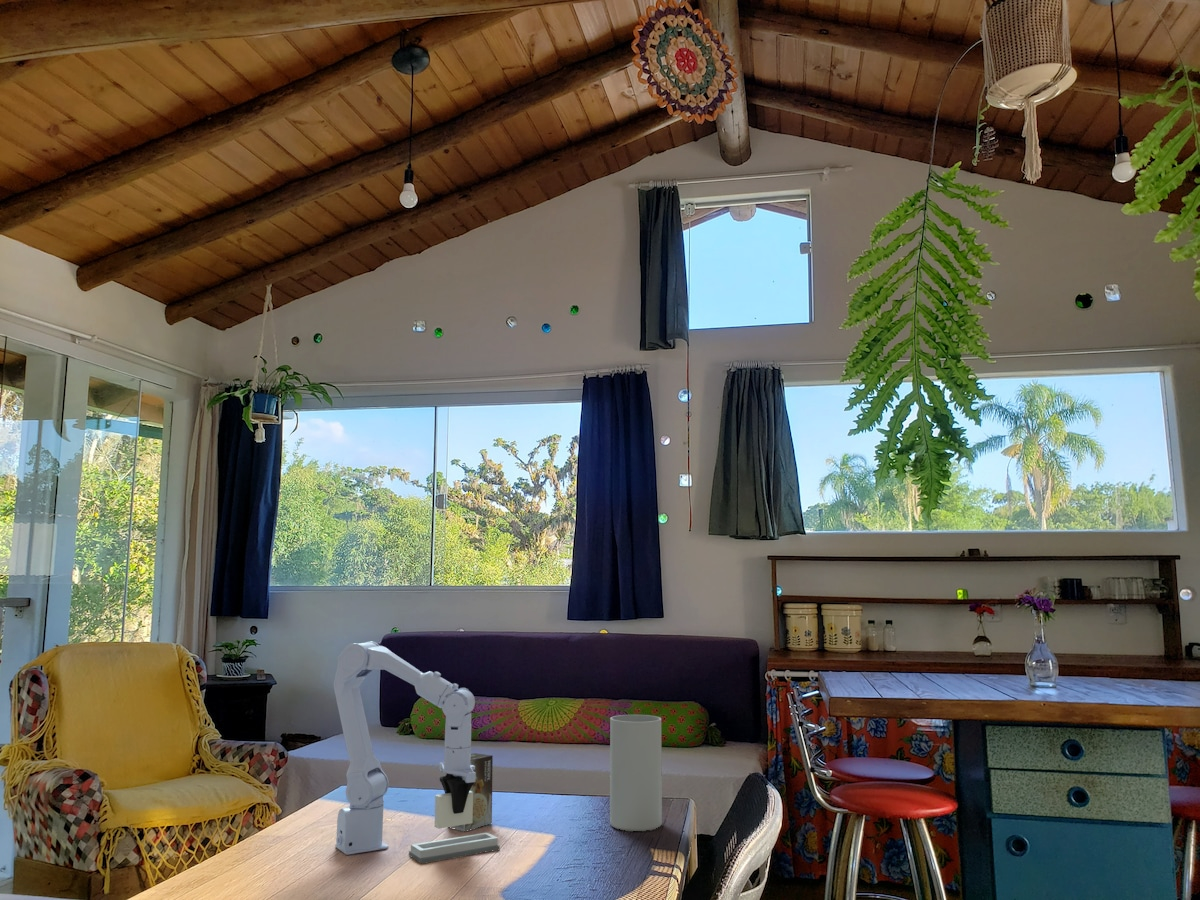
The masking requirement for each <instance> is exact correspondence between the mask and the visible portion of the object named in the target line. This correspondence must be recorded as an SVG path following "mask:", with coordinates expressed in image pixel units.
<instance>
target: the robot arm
mask: <svg viewBox="0 0 1200 900" xmlns="http://www.w3.org/2000/svg"><path fill="white" fill-rule="evenodd" d="M336 661H337V667H336V671H335V675H334V679H333V691H334V695H335V698H336V699H335V700H336V705H337V709H338V714H339V718H340V724H341V729H342V732H343V738H344V741H345V746H346V751H347V756H348V761H349V766H348V768H347V771H346V774H345V778H346V783H347V784H346V787H345V798H346V800H347V802H348V803H349V806H347V807H342V808H340V809H339V811H338V813H337V819H336V820H337V823H336V843H335V845H334V846H335V848H336V849H338V850H339V851H340V852H342V853H343V854H344V855H347V856H348V855H355V854H361V853H366V852H374V851H379V850H384V849H385V850H387V849H389V845H388V844H387V843H385V842H384V841H383V828H384V826H383V823H384V805H385V803H384V802H385V801H384V795H385V794H386V793H387V791H388V790H389V786H390V785H389V784H390V781H389V778H388V776H387V774H386V773H385V772H384V770H383V768H382V764H381V761H380V760H378V758H377V757H376V756H375V754H374V749H373V744H372V741H371V736H370V731H369V726H368V721H367V718H366V712H365V709H364V704H363V699H362V695H361V690H360V687H361V685H362V683H363V681H365V679H366V677H367V676H368V675H369V674H370V673H371V672H372V671H376V670H378V671H379V670H381V671H382V670H383V671H384V670H385V671H387V672H388V673H390V674H392V675H394V676H396V677H398V678H400V679H401V680H403V681H405V682H407V683H409V684H410V685H412V686H414V689H415V693H416V694H417V695H418V696H420V697H421V698H423V699H425V700H426V701H428V702H429V703H431V704H432V705H434V706H435V707H438V708H440V709H441V710H442V713H443V714H444V716H445V727H444V728H445V729H444V755H443V756H444V757H443V758H444V759H443V761H442V762H439V766H438V767H439V772H440V773H444V774H445V776H440V777H439V782H440V783H441V785H442V788H443V791H444V794H446V793H451V796H452V808H453V813H454V814H457V813H463V811H464V808H465V804H466V800H467V796H468V794H469V791H470V789H471V787H472V785H473V784H474V782H475V780H476V773H475V772H473V770H474V769H475V766H474V765H470V760H471V754H472V752H471V751H472V711H473V710H474V709H475V706H476V698H475V696H474V694H473V692H471V691H470V690H469V688H466V687H460V688H459V684H458V683H455V682H454V683H451V682H450V681H448V680H447V679H445V678H443V677H441V676H442V673H440V672H439V671H434V672H433V671H432V670H431V671H430V670H429V671H427V672H423V671H420V669H418V668H416V667H415V666H414V665H412V664H410V663H409V662H407V661H406V660H404V659H403V658H402V657H400V656H398V655H397V654H395V653H394V652H392V651H391V650H390V649H389V648H387V647H386V646H383V645H380V644H378V642H375V641H372V640H371V641H365V642H361V643H356V642H355V643H350V644H348V645H347V646H345V647H344V649H343V650H342V651H341V652H340V654H339V655H338V656H337V658H336Z"/></svg>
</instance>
